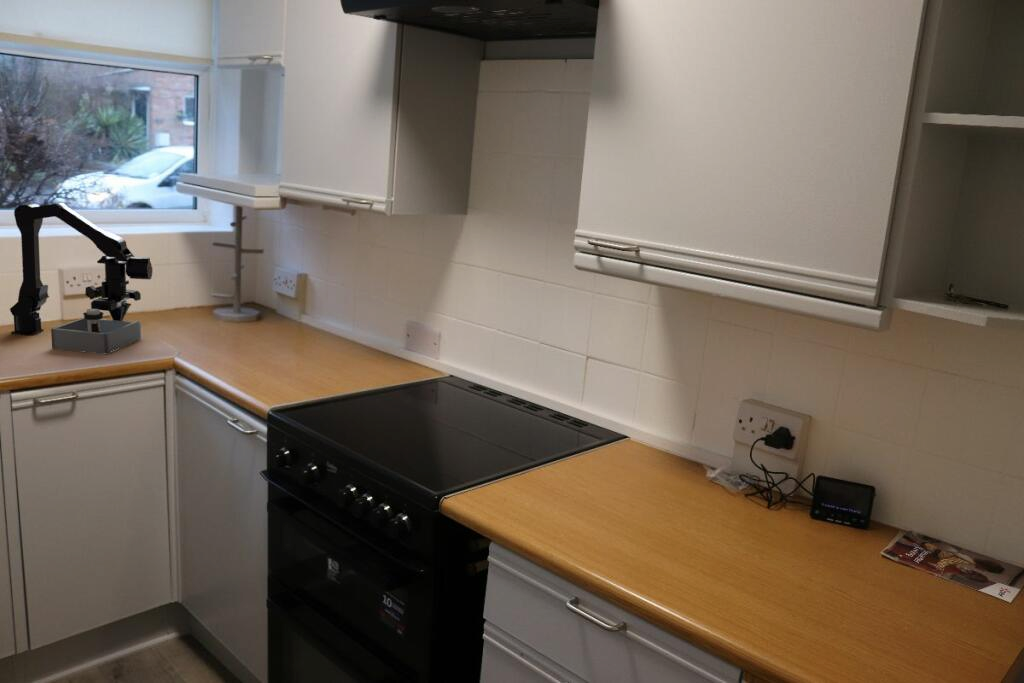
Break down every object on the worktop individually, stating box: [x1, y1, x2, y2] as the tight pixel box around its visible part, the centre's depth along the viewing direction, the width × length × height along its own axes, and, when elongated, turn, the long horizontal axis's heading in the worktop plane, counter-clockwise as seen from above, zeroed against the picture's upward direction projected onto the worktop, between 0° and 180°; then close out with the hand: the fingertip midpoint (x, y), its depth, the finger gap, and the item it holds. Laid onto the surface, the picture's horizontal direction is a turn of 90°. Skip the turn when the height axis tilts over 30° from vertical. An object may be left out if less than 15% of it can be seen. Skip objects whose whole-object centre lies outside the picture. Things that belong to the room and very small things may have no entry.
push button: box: [82, 308, 104, 333], centre depth 241 cm, size 7×5×10 cm
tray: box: [100, 318, 142, 339], centre depth 245 cm, size 18×16×5 cm
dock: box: [50, 317, 140, 354], centre depth 244 cm, size 18×17×6 cm
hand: (117, 326), depth 255 cm, fingers closed
